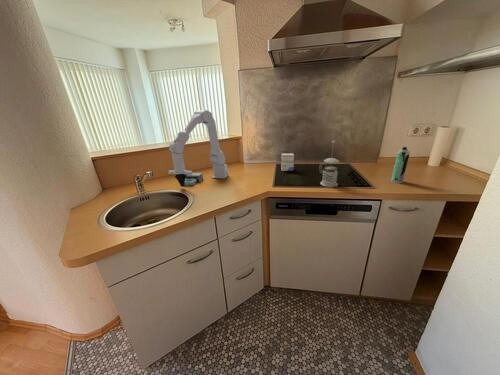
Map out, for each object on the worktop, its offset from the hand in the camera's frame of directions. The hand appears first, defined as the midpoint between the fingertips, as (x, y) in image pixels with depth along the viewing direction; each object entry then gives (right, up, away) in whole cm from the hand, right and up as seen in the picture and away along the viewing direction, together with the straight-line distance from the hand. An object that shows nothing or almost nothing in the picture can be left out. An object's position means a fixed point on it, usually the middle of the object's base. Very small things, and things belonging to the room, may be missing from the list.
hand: (182, 185), depth 121 cm
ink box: (+67, +12, +27) cm, 74 cm away
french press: (+86, +1, -1) cm, 86 cm away
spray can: (+126, +2, -3) cm, 126 cm away
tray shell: (+2, +1, +8) cm, 8 cm away
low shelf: (+3, +4, +14) cm, 14 cm away
